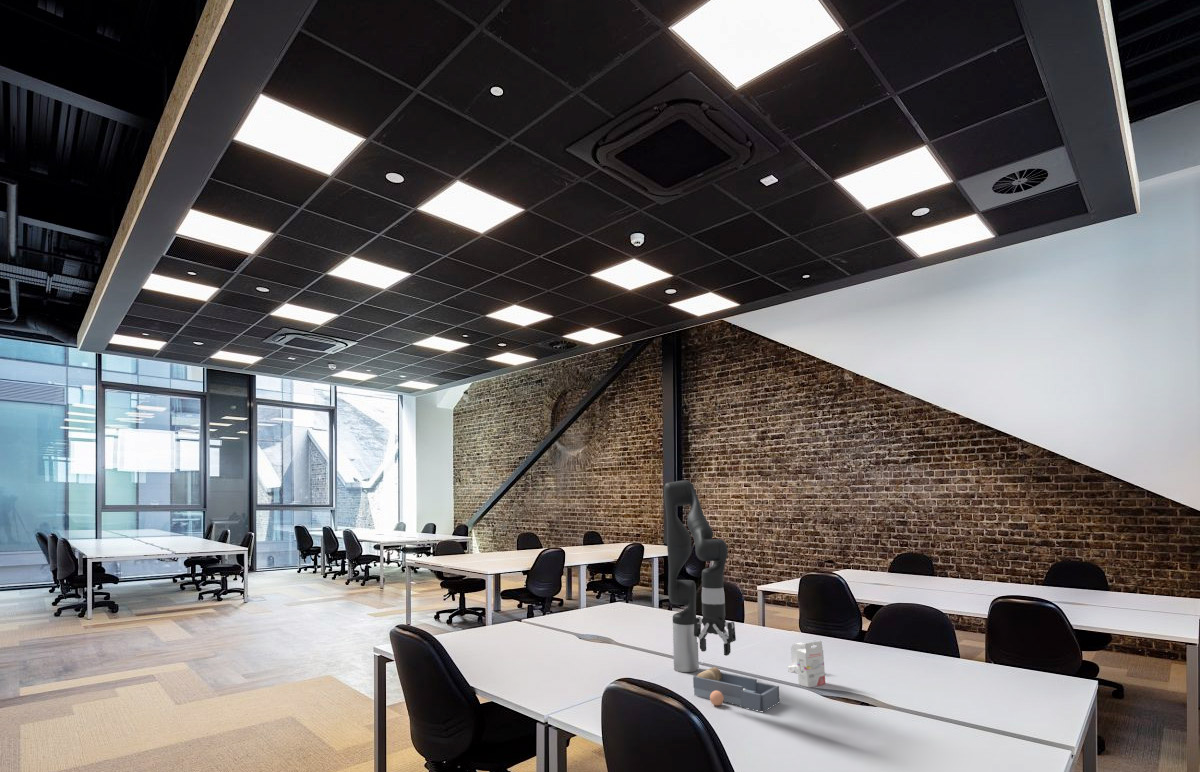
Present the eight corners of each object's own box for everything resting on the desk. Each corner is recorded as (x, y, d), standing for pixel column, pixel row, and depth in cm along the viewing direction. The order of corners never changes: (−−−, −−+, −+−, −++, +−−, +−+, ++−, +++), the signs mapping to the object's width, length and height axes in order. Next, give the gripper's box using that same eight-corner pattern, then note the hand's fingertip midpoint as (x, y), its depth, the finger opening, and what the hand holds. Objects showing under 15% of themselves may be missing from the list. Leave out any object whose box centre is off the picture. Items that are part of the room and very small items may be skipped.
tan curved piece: (709, 681, 220) (709, 666, 221) (722, 684, 217) (721, 668, 217) (696, 687, 213) (696, 671, 214) (709, 690, 210) (708, 674, 211)
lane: (711, 687, 221) (710, 669, 222) (779, 702, 205) (778, 683, 206) (692, 696, 212) (692, 677, 213) (763, 712, 196) (762, 692, 197)
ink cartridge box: (815, 680, 228) (812, 638, 230) (825, 684, 224) (823, 640, 226) (797, 684, 224) (795, 640, 226) (808, 688, 220) (805, 643, 222)
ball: (714, 702, 206) (714, 687, 206) (726, 705, 203) (726, 690, 204) (707, 705, 202) (707, 691, 203) (719, 708, 200) (719, 693, 200)
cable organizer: (813, 669, 242) (812, 642, 244) (799, 674, 235) (798, 646, 237) (801, 666, 246) (799, 639, 247) (787, 671, 239) (785, 644, 241)
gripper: (738, 602, 206) (740, 654, 204) (700, 597, 215) (702, 647, 213) (726, 605, 201) (728, 659, 198) (688, 600, 210) (690, 651, 207)
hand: (715, 653), depth 205 cm, fingers open, 8 cm apart
